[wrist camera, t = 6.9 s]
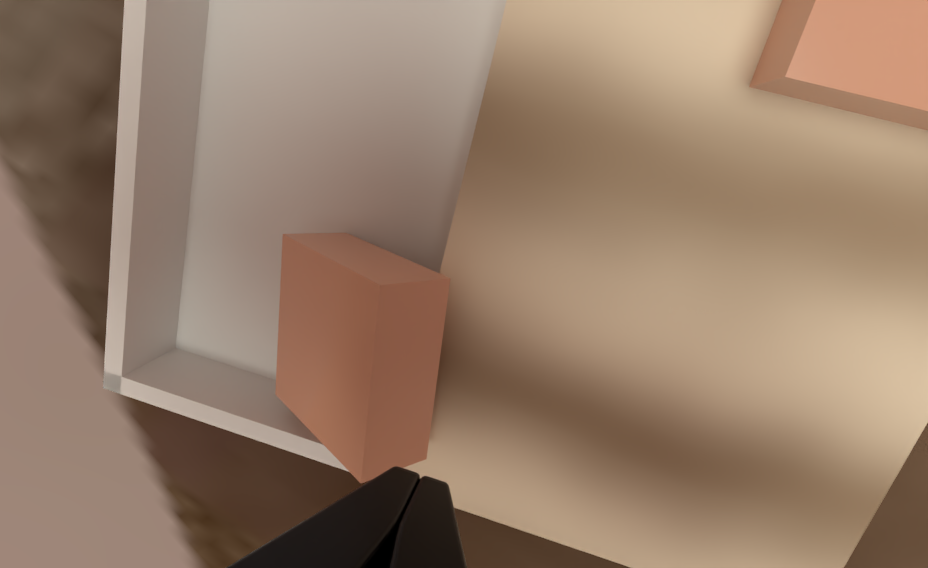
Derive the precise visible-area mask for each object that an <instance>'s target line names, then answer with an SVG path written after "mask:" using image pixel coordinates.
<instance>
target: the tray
mask: <svg viewBox="0 0 928 568" xmlns="http://www.w3.org/2000/svg"><path fill="white" fill-rule="evenodd" d="M506 1H507V0H125V1H124V19H123V37H122V55H121V73H120V91H119V109H118V128H117V146H116V164H115V182H114V200H113V218H112V236H111V254H110V272H109V290H108V309H107V327H106V345H105V363H104V381H103V388H104V389H107V390H110V391H113V392H116V393H119V394H122V395H125V396H128V397H131V398H134V399H137V400H140V401H143V402H146V403H148V404H151V405H154V406H157V407H160V408H163V409H166V410H169V411H172V412H175V413H178V414H181V415H184V416H187V417H190V418H193V419H196V420H198V421H201V422H204V423H207V424H210V425H213V426H216V427H219V428H222V429H225V430H228V431H231V432H234V433H237V434H240V435H243V436H246V437H248V438H251V439H254V440H257V441H260V442H263V443H266V444H269V445H272V446H275V447H278V448H281V449H284V450H287V451H290V452H293V453H296V454H298V455H301V456H304V457H307V458H310V459H313V460H316V461H319V462H322V463H325V464H328V465H331V466H334V467H337V468H340V469H343V470H345V471H348V470H347V469H346V468H345V467H344V466H343V464H342V463H341V462H340V461H339V460H338V459H337V458H336V457H335V456H334V455H333V454H332V453H331V452H330V451H329V450H328V449H327V448H326V447H325V446H324V445H323V444H322V443H321V442H320V441H319V439H318V438H317V437H316V436H315V435H314V434H313V433H312V432H311V431H310V430H309V429H308V428H307V427H306V426H305V425H304V424H303V423H302V422H301V421H300V420H299V419H298V418H297V417H296V415H295V414H294V413H293V412H292V411H291V410H290V409H289V408H288V407H287V406H286V405H285V404H284V403H283V402H282V401H281V400H280V399H279V398H278V397H277V396H276V395H275V390H276V368H277V346H278V325H279V303H280V281H281V259H282V237H283V234H299V233H348V234H350V235H353V236H355V237H357V238H360V239H362V240H364V241H366V242H369V243H371V244H373V245H376V246H378V247H380V248H382V249H385V250H387V251H389V252H392V253H394V254H396V255H398V256H401V257H403V258H405V259H407V260H410V261H412V262H414V263H417V264H419V265H421V266H423V267H426V268H428V269H430V270H433V271H435V272H437V273H440V269H441V265H442V261H443V257H444V253H445V249H446V244H447V240H448V236H449V232H450V228H451V224H452V220H453V216H454V212H455V208H456V204H457V200H458V196H459V192H460V188H461V184H462V179H463V175H464V171H465V167H466V163H467V159H468V155H469V151H470V147H471V143H472V139H473V135H474V131H475V127H476V123H477V119H478V114H479V110H480V106H481V102H482V98H483V94H484V90H485V86H486V82H487V78H488V74H489V70H490V66H491V62H492V58H493V53H494V49H495V45H496V41H497V37H498V33H499V29H500V25H501V21H502V17H503V13H504V9H505V5H506ZM348 472H349V471H348Z"/></svg>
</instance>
